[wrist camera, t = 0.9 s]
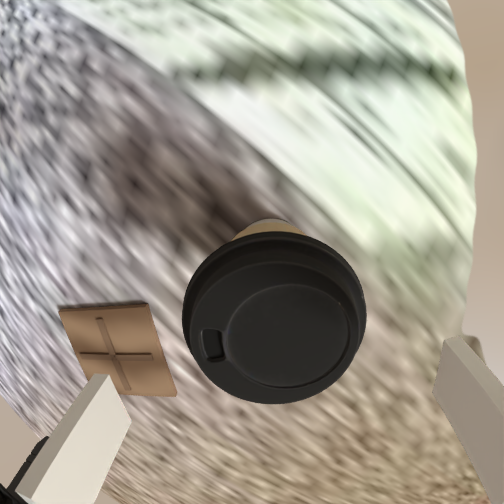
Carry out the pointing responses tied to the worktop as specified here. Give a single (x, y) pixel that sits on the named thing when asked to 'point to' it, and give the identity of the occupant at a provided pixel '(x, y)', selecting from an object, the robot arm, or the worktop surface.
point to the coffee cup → (274, 314)
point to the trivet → (120, 348)
